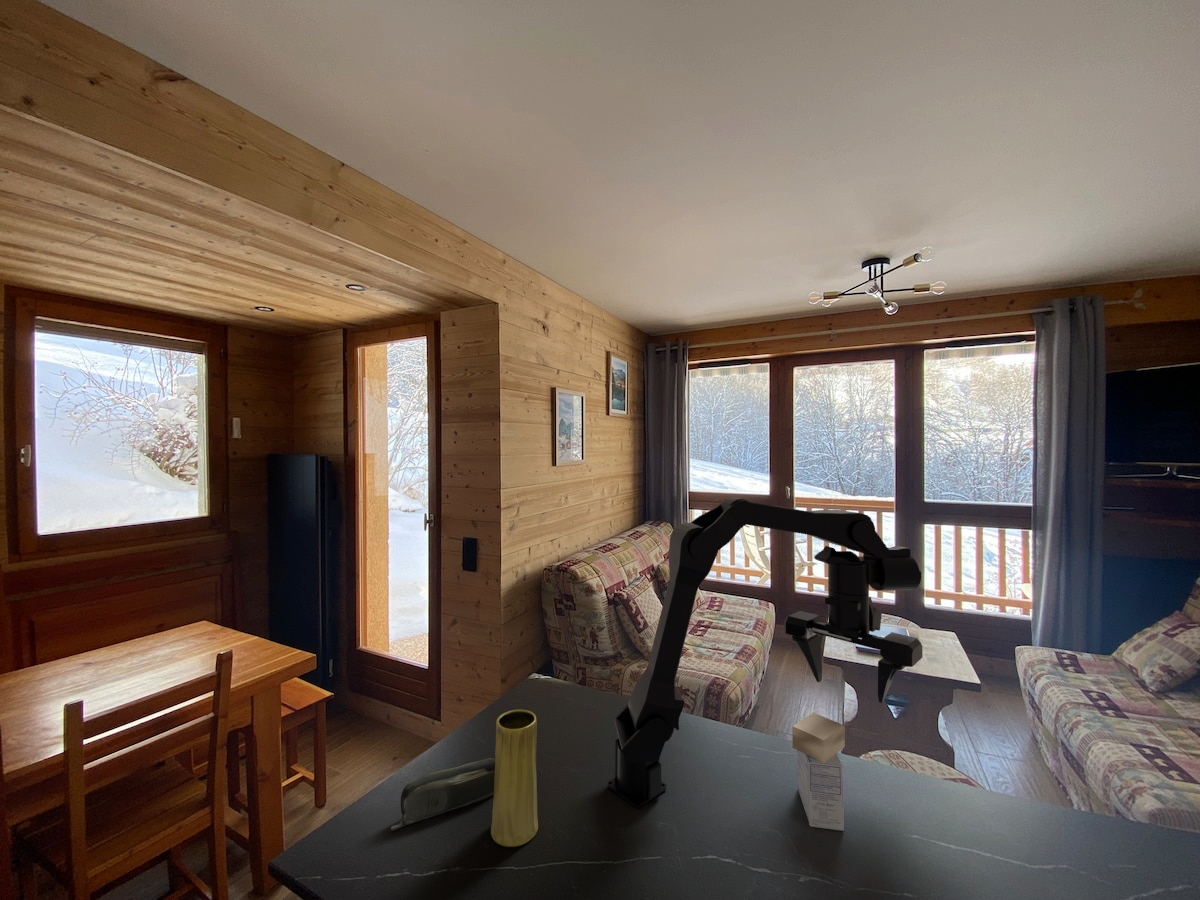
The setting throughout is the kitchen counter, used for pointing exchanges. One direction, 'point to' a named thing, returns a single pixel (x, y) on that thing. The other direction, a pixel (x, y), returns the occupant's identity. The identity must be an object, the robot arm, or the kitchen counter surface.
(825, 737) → the beech block
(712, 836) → the kitchen counter surface
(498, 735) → the vase
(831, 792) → the medicine box
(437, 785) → the stapler
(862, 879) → the kitchen counter surface
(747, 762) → the kitchen counter surface
